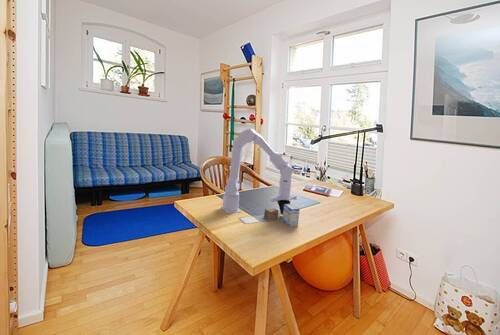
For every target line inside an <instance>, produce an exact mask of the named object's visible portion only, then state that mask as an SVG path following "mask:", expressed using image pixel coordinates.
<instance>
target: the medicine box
mask: <svg viewBox="0 0 500 335" xmlns="http://www.w3.org/2000/svg"><path fill="white" fill-rule="evenodd" d="M299 218H300V209H299V207H297V206H295V205H294V204H292V203H290V204H284V210H283V215H282V219H281V221H282V222H283V223H285V224H286V225H287V226H289V227H290V228H291V227H298V226H299V222H300V221H299Z"/></svg>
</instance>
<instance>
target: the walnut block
mask: <svg viewBox="0 0 500 335" xmlns="http://www.w3.org/2000/svg"><path fill="white" fill-rule="evenodd" d="M263 215H264V216H265V217H266V218H268V219H269V220H270V219H277V218H278V216H279V210H278V209H276V208H275V207H267V208H264V214H263Z"/></svg>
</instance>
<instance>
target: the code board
mask: <svg viewBox="0 0 500 335" xmlns="http://www.w3.org/2000/svg"><path fill="white" fill-rule="evenodd" d="M237 219H238V220H239V221H240V222H242V223H243V225H249V224H256V223H263V222H270V221H272V222H273V221H279V220H282V219H283V217H280V215H278V218H277V219H270V220H269V219H268V218H266V217H265V216H264V214H261V215H260V214H259V215H253V216H252V215H251V216H244V217H242V216H241V217H237Z"/></svg>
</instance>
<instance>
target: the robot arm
mask: <svg viewBox="0 0 500 335" xmlns="http://www.w3.org/2000/svg"><path fill="white" fill-rule="evenodd" d="M251 142H252V143H253V144H254V145H258V146H259V147H260V148H262V150H263V151H264V152H265V153H266V154H267V155H268V156H269V162H271V163H272V165H273V166H274V167H275V168H276V169H277V171H279V175H280V178H279V185H278V195H275V196H271V197H270V202H271V203H274V202H277V205H278V207H279V211H280V215H282V216H283V210H284V204H291V201H292V200H295V201H297V198H298V197H297V195H295V194H293V195H292V194H291V187H292V174H293V167H292V165H291V164H290V163H289V162H288V161H286V160H285V158H284V157H283V154H282V153H279V152H277V151H276V152H275V150H273V148H272V147H271V146H270V145H269V144H268V142H267V141H266V140H265V139H264V137H263V136H262V135H261V134H260V133H258V132H257V131H256V129H254V128H247V129H245V130H243V131H241V132H240V133H239V135H238V136H237V137H236V138H235V140H234V141H233V144H232V153H231V159H230V167H229V168H230V169H229V177H228V179H227V182H226V185H225V187H224V192H225V193H224V194H223V196H222V206H221V207H220V209H222V210H223V211H224V212H225V213H226V214H235V213H241V212H242V210H240V209H239V206H240V204H239V203H240V192H239V190H240V189H241V183H240V171H241V170H240V169H241V162H242V155H243V148H244V146H245V145H247V144H249V143H251Z"/></svg>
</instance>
